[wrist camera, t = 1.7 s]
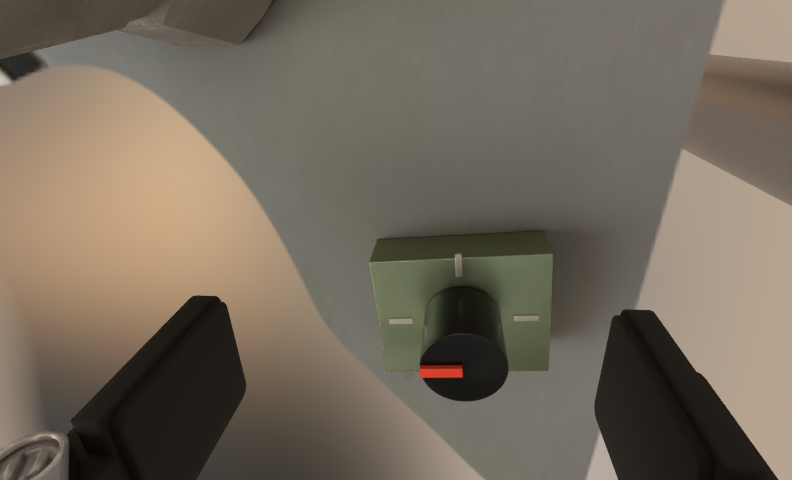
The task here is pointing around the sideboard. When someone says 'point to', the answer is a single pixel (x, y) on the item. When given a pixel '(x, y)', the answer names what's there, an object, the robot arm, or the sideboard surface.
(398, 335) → the panel
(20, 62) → the sideboard surface
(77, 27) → the coffeepot
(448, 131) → the sideboard surface
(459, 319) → the knob
